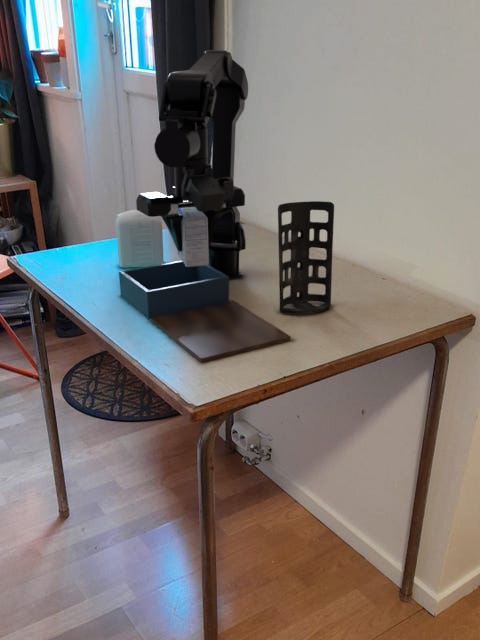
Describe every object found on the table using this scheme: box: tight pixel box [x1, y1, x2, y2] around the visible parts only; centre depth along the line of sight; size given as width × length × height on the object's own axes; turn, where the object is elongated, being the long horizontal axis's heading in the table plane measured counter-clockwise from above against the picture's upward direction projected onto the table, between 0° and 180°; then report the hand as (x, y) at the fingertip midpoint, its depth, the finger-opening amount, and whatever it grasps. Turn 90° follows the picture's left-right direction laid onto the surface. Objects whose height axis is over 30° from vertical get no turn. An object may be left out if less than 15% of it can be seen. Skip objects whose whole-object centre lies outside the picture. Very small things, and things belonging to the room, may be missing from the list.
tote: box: [118, 260, 230, 320], centre depth 131 cm, size 18×14×5 cm
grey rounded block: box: [115, 209, 165, 268], centre depth 147 cm, size 10×4×12 cm, turn 103°
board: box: [149, 300, 292, 364], centre depth 119 cm, size 18×20×1 cm
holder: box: [277, 200, 335, 315], centre depth 124 cm, size 11×8×20 cm
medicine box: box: [177, 206, 209, 267], centre depth 118 cm, size 8×4×9 cm, turn 15°
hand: (192, 248), depth 119 cm, fingers closed on medicine box, 5 cm apart
